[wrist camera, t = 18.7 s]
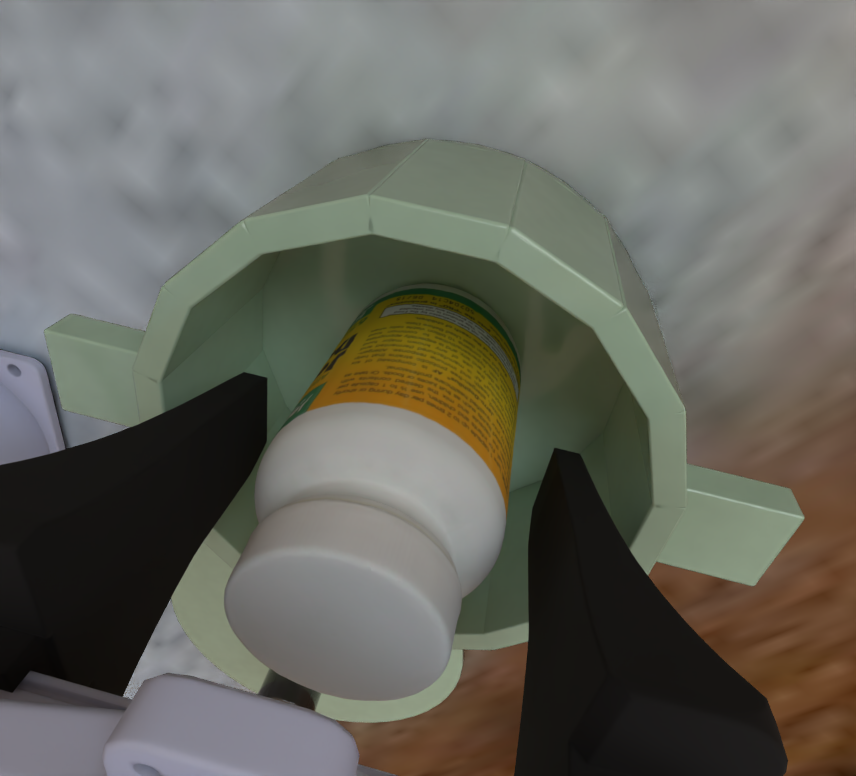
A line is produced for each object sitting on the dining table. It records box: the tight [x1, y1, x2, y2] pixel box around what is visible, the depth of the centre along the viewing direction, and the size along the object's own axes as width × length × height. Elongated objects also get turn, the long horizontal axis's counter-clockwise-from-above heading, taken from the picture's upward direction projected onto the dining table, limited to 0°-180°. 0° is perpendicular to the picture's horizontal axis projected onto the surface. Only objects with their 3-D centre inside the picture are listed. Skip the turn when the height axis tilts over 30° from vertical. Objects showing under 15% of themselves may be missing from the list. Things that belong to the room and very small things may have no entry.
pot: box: [44, 139, 804, 650], centre depth 16 cm, size 12×18×6 cm
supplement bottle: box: [224, 283, 521, 701], centre depth 14 cm, size 5×5×10 cm
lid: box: [171, 542, 464, 723], centre depth 25 cm, size 13×13×5 cm
